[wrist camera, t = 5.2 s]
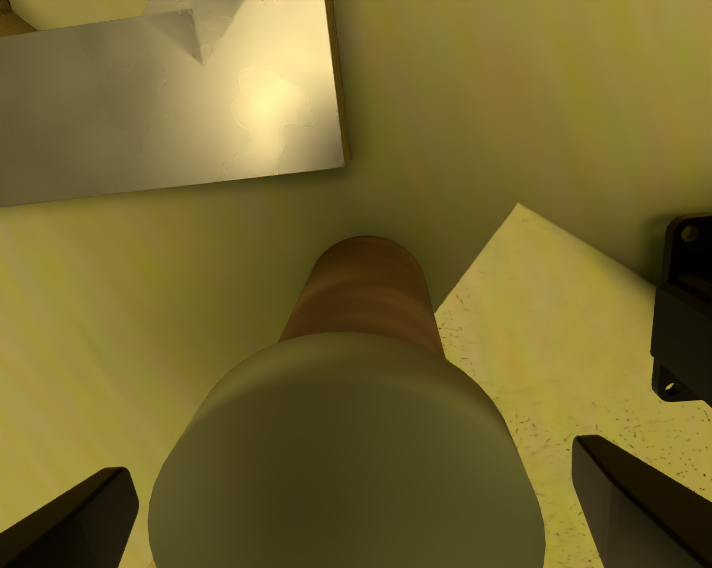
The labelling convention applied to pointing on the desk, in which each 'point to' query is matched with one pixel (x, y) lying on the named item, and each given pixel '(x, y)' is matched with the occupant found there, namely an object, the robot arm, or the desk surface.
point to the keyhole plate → (169, 98)
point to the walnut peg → (348, 443)
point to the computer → (153, 564)
